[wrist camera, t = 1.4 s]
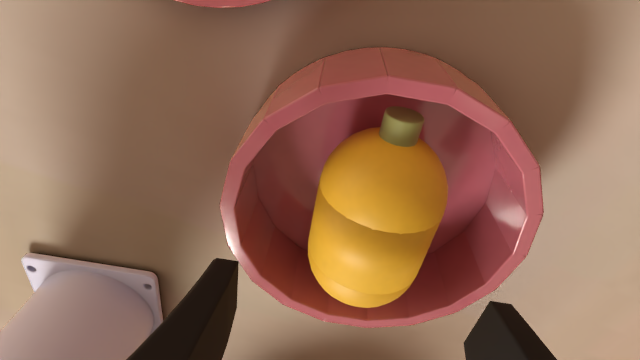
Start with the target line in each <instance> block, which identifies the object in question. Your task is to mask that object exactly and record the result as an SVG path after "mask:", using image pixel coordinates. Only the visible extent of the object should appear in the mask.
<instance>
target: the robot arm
mask: <svg viewBox="0 0 640 360" xmlns="http://www.w3.org/2000/svg"><path fill="white" fill-rule="evenodd" d="M21 261H22V264H23V266H24V269H25V271H26V274H27V276H28V278H29V281H30V283H31V286H32V288H33V290H34V293H33V294H32V296H31V297H30V298H29V299H28V300H27V301H26V302H25V303H24V305H23V306H22V307H21V308H20V309H19V310H18V311H17V312H16V314H15V315H14V316H13V317H12V318H11V319H10V320H9V321H8V323H7V324H6V325H5V326H4V327H3V328H2V329H1V330H0V360H222V357H223V354H224V351H225V349H226V346H227V343H228V339H229V335H230V332H231V328H232V324H233V320H234V316H235V312H236V308H237V285H238V261H232V260H226V259H219V258H216V259H214V260H213V261H212V262H211V264H210V265H209V267H208V268H207V269H206V271H205V272H204V273H203V275H202V276H201V277H200V279H199V280H198V281H197V282H196V284H195V285H194V286H193V287H192V289H191V290H190V291H189V292H188V293H187V295H186V296H185V297H184V298H183V299H182V301H181V302H180V303H179V304H178V305H177V306H176V307H175V309H174V310H173V311H172V312H171V313H170V314H169V315H168V317H167V318H166V319H165V320H164V321H163V316H162V308H161V300H160V292H159V284H158V278H157V276H156V275H155V274H154V273H153V272H150V271H144V270H138V269H131V268H125V267H118V266H112V265H106V264H99V263H93V262H87V261H80V260H74V259H68V258H61V257H55V256H49V255H42V254H36V253H26V254H25V255H24V256H23V257H22V258H21ZM464 349H465V356H466V360H557V359H556V358H555V357H554V355H553V354H552V353H551V352H550V351H549V349H548V348H547V347H546V346H545V344H544V343H543V342H542V341H541V340H540V338H539V337H538V336H537V335H536V333H535V332H534V331H533V330H532V329H531V327H530V326H529V325H528V324H527V322H526V321H525V320H524V319H523V318H522V316H521V315H520V314H519V313H518V312H517V311H516V309H515V308H514V307H513V306H512V305H511V304H506V303H500V302H493V301H490V302H489V304H488V305H487V307H486V308H485V310H484V312H483V313H482V315H481V316H480V318H479V320H478V321H477V323H476V324H475V326H474V327H473V329H472V331H471V332H470V334H469V335H468V337H467V339H466V340H465V342H464Z"/></svg>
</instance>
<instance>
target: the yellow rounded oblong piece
mask: <svg viewBox="0 0 640 360" xmlns="http://www.w3.org/2000/svg"><path fill="white" fill-rule="evenodd" d="M423 124H424V117H423V116H422V115H421V114H420V113H418V112H416V111H414V110H412V109H409V108H405V107H399V106H392V107H388V108H386V110H385V112H384V116H383V120H382V123H381V127H376V128H369V129H366V130H363V131H360V132H357V133H354V134H353V135H351V136H350V137H348V138H347V139H345V140H344V141H342V142H341V143H340V144H339V145H338V146H337V147H336V148H335V149H334V150H333V151H332V153H331V154H330V155H329V157H328V159H327V161H326V162H325V164H324V167H323V170H322V174H321V176H320V180H319V185H318V191H317V196H316V201H315V207H314V212H313V217H312V223H311V228H310V233H309V239H308V258H309V262H310V266H311V270H312V272H313V274H314V276H315V278H316V279H317V281H318V283H319V284H320V285H321V287H322V288H323V289H324V290H325V291H326V292H327V293H328V294H329V295H331V296H332V297H334V298H335V299H337V300H339V301H340V302H343V303H345V304H348V305H351V306H355V307H363V308H371V307H378V306H381V305H385V304H387V303H390V302H392V301H394V300H395V299H397V298H399V297H400V296H401V295H402V294H403V293H404V292H405V291H406V290H407V289H408V288H409V287H410V286H411V284H412V283H413V281H414V279H415V278H416V276H417V274H418V272H419V269H420V267H421V265H422V263H423V260H424V258H425V256H426V254H427V251H428V249H429V247H430V244H431V242H432V240H433V238H434V235H435V233H436V231H437V229H438V226H439V224H440V222H441V219H442V217H443V215H444V212H445V208H446V205H447V198H448V184H447V179H446V174H445V170H444V168H443V166H442V163H441V161H440V159H439V158H438V156H437V155H436V153H435V152H434V151H433V150H432V149H431V147H430V146H429V145H428V144H427V143H425V142H424V141H423V140H421V139H420V138H419V135H420V132H421V129H422V126H423Z"/></svg>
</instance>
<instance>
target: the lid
mask: <svg viewBox="0 0 640 360" xmlns="http://www.w3.org/2000/svg"><path fill="white" fill-rule="evenodd" d="M174 1H178V2H182V3H186V4H190V5H195V6H204V7H213V8H229V7H244V6H249V5H255V4H260V3H265V2H267V1H270V0H174Z"/></svg>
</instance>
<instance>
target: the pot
mask: <svg viewBox="0 0 640 360" xmlns="http://www.w3.org/2000/svg"><path fill="white" fill-rule="evenodd" d="M392 106H399V107H405V108H409V109H412V110H414V111H416V112H418V113H420V114H421V115H422V116H423V117H424V124H423V126H422V129H421V132H420V135H419V138H420V139H421V140H423V141H424V142H425V143H427V144H428V145H429V146H430V147H431V149H432V150H433V151H434V152H435V153H436V155H437V156H438V158H439V159H440V161H441V163H442V166H443V168H444V170H445V174H446V179H447V184H448V198H447V205H446V208H445V212H444V215H443V217H442V219H441V222H440V224H439V226H438V229H437V231H436V233H435V235H434V238H433V240H432V242H431V244H430V247H429V249H428V251H427V254H426V256H425V258H424V260H423V263H422V265H421V267H420V269H419V272H418V274H417V276H416V278H415V279H414V281H413V283H412V284H411V286H410V287H409V288H408V289H407V290H406V291H405V292H404V293H403V294H402V295H401V296H400V297H399V298H397V299H395V300H394V301H392V302H390V303H387V304H385V305H381V306H378V307H371V308H363V307H355V306H351V305H348V304H345V303H343V302H340V301H339V300H337V299H335V298H334V297H332V296H331V295H329V294H328V293H327V292H326V291H325V290H324V289H323V288H322V287H321V285H320V284H319V283H318V281H317V279H316V278H315V276H314V274H313V272H312V270H311V266H310V262H309V258H308V239H309V233H310V228H311V223H312V217H313V212H314V207H315V201H316V196H317V191H318V185H319V180H320V176H321V174H322V170H323V167H324V164H325V162H326V161H327V159H328V157H329V155H330V154H331V153H332V151H333V150H334V149H335V148H336V147H337V146H338V145H339V144H340V143H341V142H342V141H344V140H345V139H347V138H348V137H350V136H351V135H353V134H354V133H357V132H360V131H363V130H366V129H369V128H376V127H381V123H382V120H383V116H384V112H385V110H386V108H388V107H392ZM220 211H221V215H222V220H223V225H224V230H225V234H226V239H227V244H228V246H229V248H230V250H231V251H232V253H233V254H234V256H235V257H236V259H237V260H238V262H239V263H240V264H241V266H242V267H243V269H244V270H245V272H246V273H247V275H248V276H249V278H250V279H251V280H252V281H253V282H254V283H255V284H257V285H258V286H259V287H261V288H262V289H263V290H265V291H266V292H267V293H269V294H270V295H271V296H273V297H274V298H275V299H276V300H278V301H279V302H280V303H282V304H283V305H285V306H287V307H290V308H292V309H295V310H297V311H300V312H302V313H305V314H307V315H310V316H312V317H315V318H317V319H320V320H322V321H326V322H332V323H338V324H345V325H351V326H358V327H364V328H367V327H368V328H375V327H392V326H408V325H415V324H418V323H422V322H425V321H428V320H432V319H435V318H439V317H442V316H446V315H449V314H453V313H455V312H458V311H460V310H462V309H463V308H465V307H467V306H468V305H470V304H472V303H474V302H475V301H477V300H479V299H481V298H482V297H484V296H486V295H487V294H489V293H491V292H493V291H494V290H495V289H497V288H498V287H499V286H500V284H501V283H502V282H503V281H504V280H505V279H506V278H507V277H508V276H509V275H510V274H511V273H512V272H513V270H514V269H515V268H516V267H517V266H518V265H519V264H520V263H521V262H522V261H523V260H524V259H525V258H526V255H528V252H529V249H530V247H531V244H532V242H533V239H534V237H535V234H536V232H537V229H538V227H539V224H540V222H541V219H542V217H543V213H544V210H543V198H542V185H541V173H540V166H539V163H538V162H537V160H536V159H535V157H534V155H533V154H532V152H531V151H530V149H529V148H528V146H527V145H526V143H525V141H524V140H523V138H522V137H521V135H520V134H519V132H518V131H517V129H516V127H515V126H514V124H513V123H512V121H511V120H510V119H509V118H508V117H507V116H506V115H505V114H504V112H503V111H502V110H501V109H500V108H499V107H498V106H497V105H496V104H495V102H494V101H493V100H492V99H491V98H490V97H489V96H488V95H487V93H486V92H485V91H484V90H483V89H482V88H481V87H480V86H479V85H478V84H477V83H475V82H474V81H472V80H470V79H469V78H467V77H466V76H465V75H464V74H462V73H461V72H460V71H458V70H457V69H455V68H453V67H452V66H450V65H448V64H447V63H445V62H443V61H441V60H439V59H437V58H434V57H431V56H429V55H426V54H422V53H418V52H414V51H411V50H407V49H398V48H389V47H374V48H361V49H354V50H348V51H344V52H340V53H337V54H334V55H330V56H327V57H324V58H322V59H320V60H318V61H316V62H313V63H311V64H309V65H307V66H306V67H304V68H302V69H301V70H299V71H298V72H296V73H294V74H293V75H292V76H290V77H289V78H288V79H287V80H286V81H284V82H283V83H281V84H280V85H279V86H278V87H277V88H276V90H275V91H274V92H273V93H272V94H271V95H270V96H269V98H268V99H267V100H266V101H265V103H264V105H263V106H262V108H261V109H260V110H259V112H258V113H257V114H256V115H255V117H254V118H253V119H252V121H251V123H250V124H249V126H248V128H247V130H246V132H245V134H244V136H243V138H242V139H241V141H240V143H239V145H238V147H237V149H236V151H235V152H234V154H233V156H232V158H231V160H230V162H229V167H228V171H227V175H226V179H225V183H224V188H223V192H222V196H221V200H220Z"/></svg>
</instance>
